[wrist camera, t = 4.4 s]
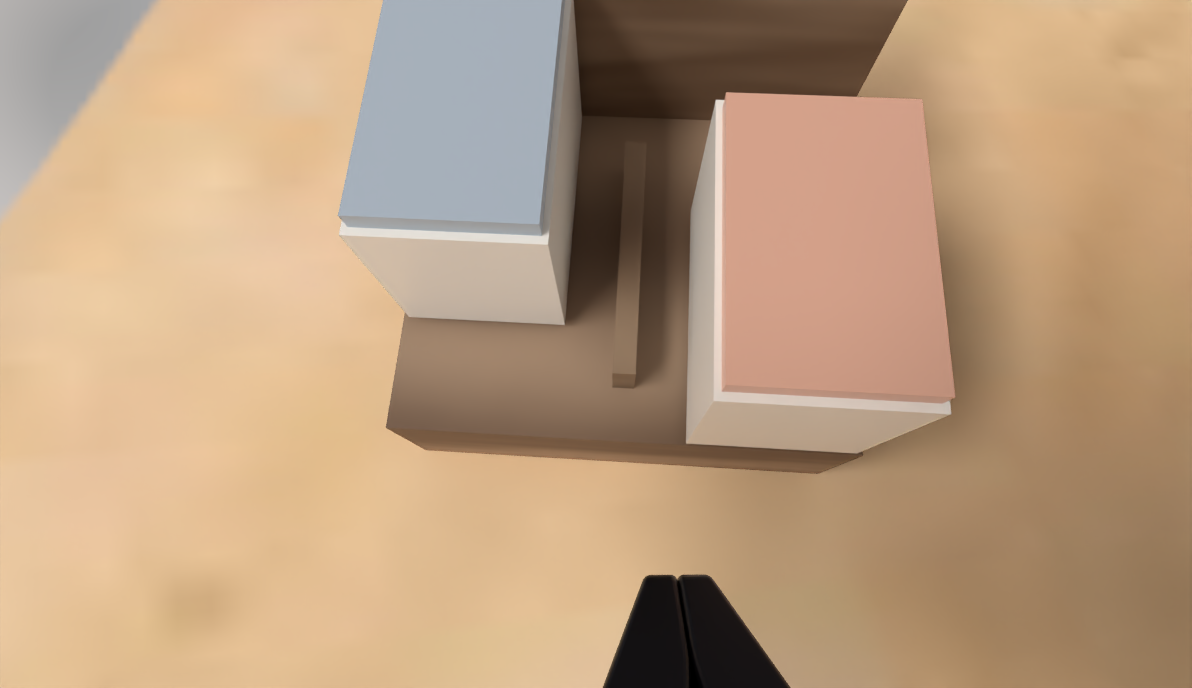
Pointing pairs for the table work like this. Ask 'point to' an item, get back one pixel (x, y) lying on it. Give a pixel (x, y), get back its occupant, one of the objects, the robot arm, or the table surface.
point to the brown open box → (631, 240)
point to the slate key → (468, 159)
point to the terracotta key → (815, 276)
